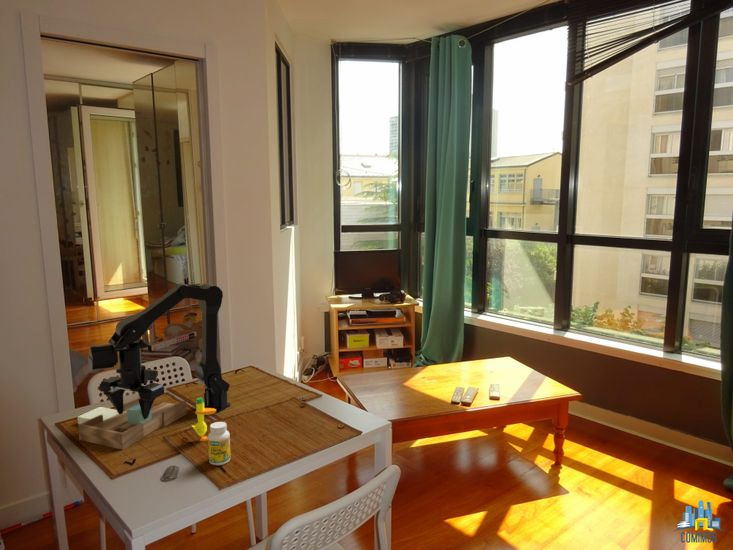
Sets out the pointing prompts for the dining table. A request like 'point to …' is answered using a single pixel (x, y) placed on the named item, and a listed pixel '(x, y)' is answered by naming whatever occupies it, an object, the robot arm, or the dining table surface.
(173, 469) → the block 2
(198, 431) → the toy figure
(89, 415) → the board
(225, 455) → the supplement bottle
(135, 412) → the block
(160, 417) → the box
